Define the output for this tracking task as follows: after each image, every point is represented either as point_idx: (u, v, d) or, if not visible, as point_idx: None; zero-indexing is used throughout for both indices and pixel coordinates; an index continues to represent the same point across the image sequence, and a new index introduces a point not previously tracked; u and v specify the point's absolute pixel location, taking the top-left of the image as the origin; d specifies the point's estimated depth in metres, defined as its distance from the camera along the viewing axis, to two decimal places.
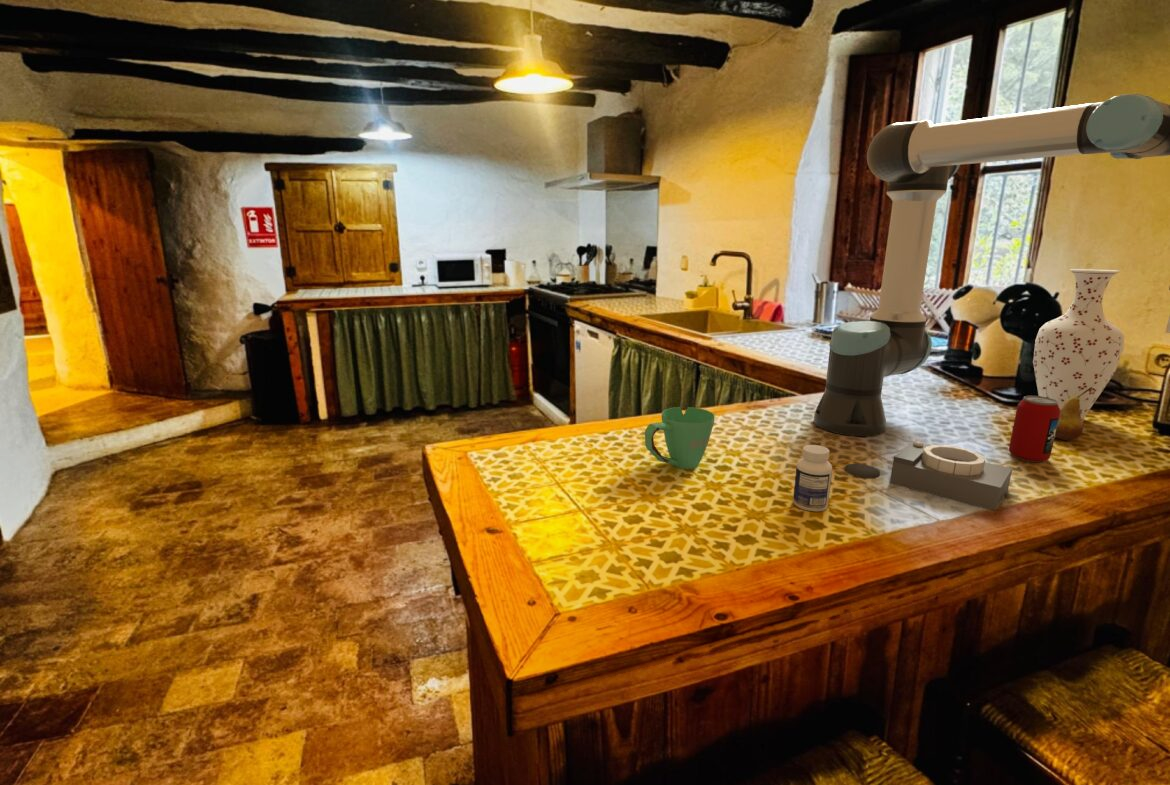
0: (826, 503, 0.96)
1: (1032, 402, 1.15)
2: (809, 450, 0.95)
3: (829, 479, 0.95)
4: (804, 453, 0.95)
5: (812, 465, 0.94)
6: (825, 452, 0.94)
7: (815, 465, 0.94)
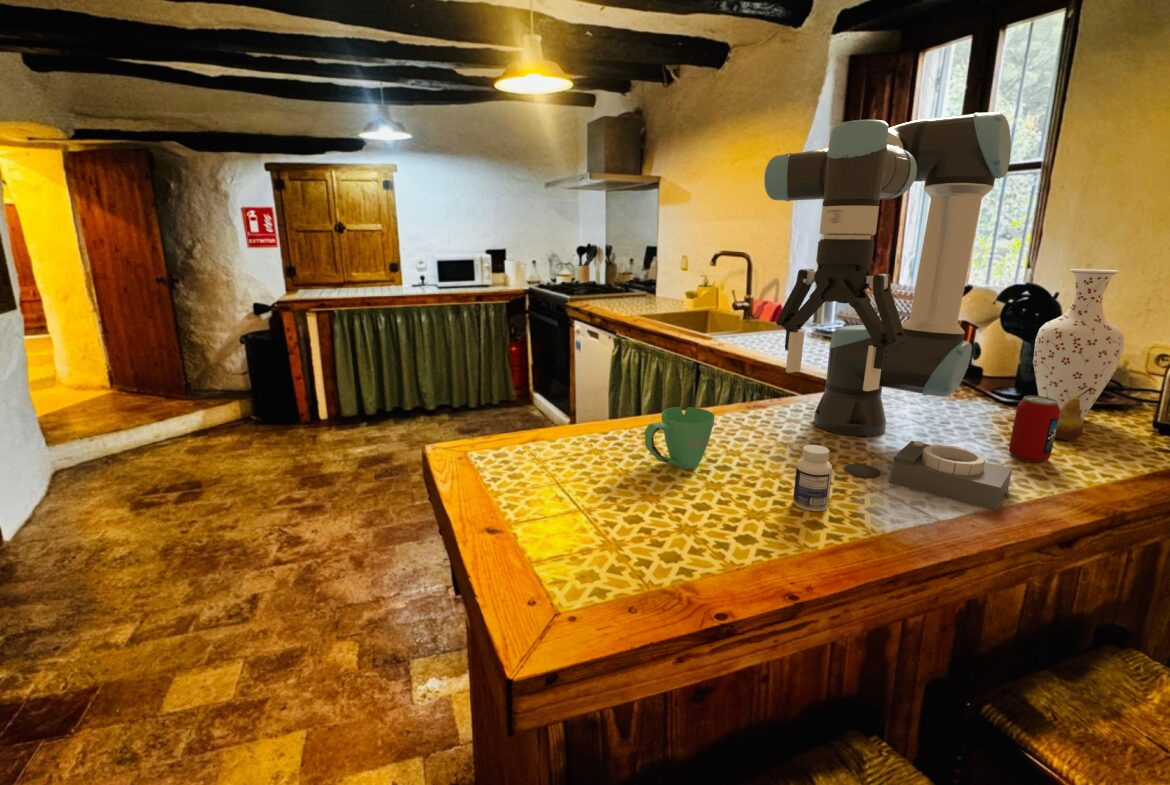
0: (826, 503, 0.96)
1: (1032, 402, 1.15)
2: (809, 450, 0.95)
3: (829, 479, 0.95)
4: (804, 453, 0.95)
5: (812, 465, 0.94)
6: (825, 452, 0.94)
7: (815, 465, 0.94)
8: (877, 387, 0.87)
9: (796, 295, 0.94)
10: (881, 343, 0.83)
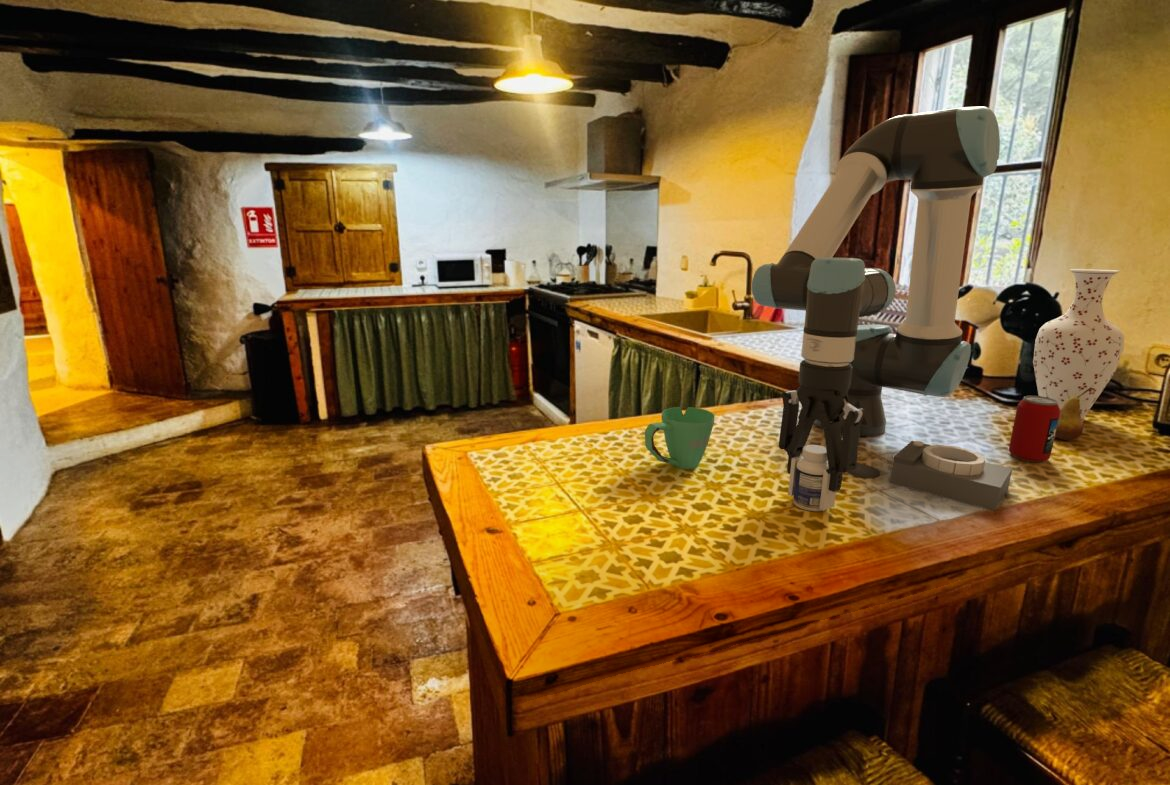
0: None
1: (1032, 402, 1.15)
2: (809, 450, 0.95)
3: None
4: (804, 453, 0.95)
5: (812, 465, 0.94)
6: (825, 452, 0.94)
7: (815, 465, 0.94)
8: (833, 505, 0.95)
9: (787, 416, 0.98)
10: (833, 472, 0.91)
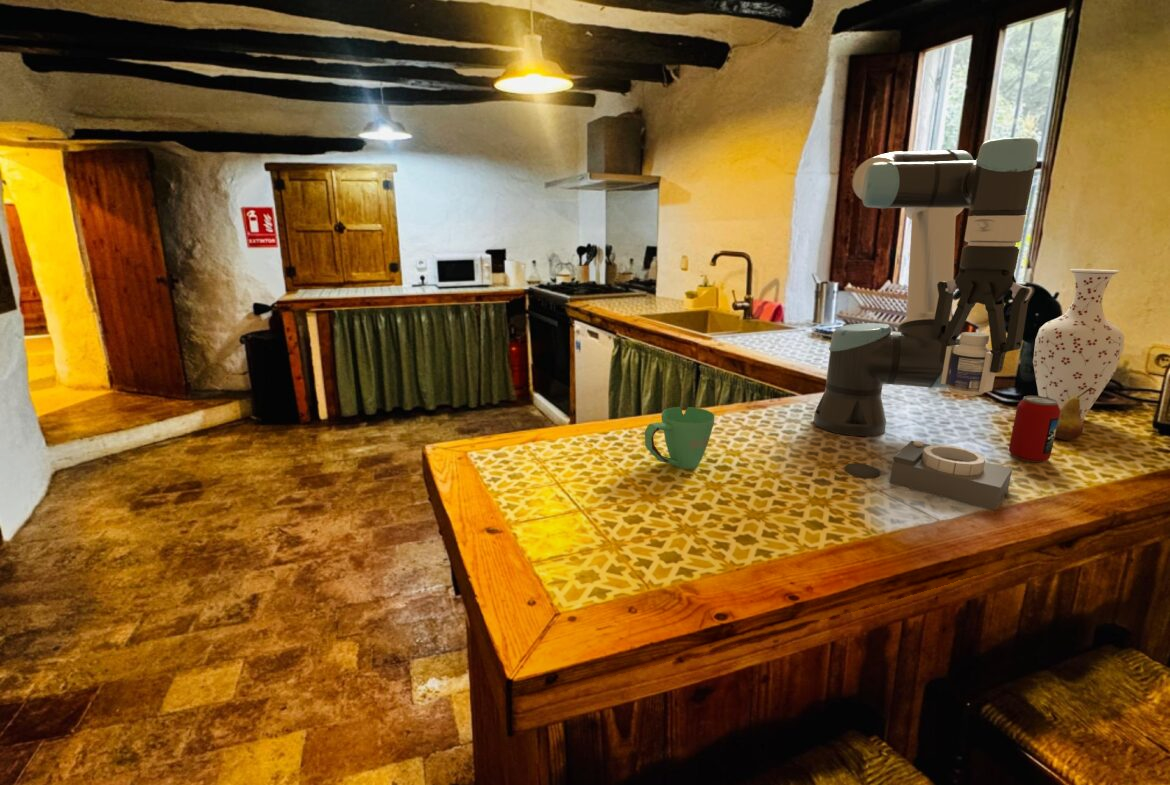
0: None
1: (1032, 402, 1.15)
2: (969, 334, 0.98)
3: None
4: (963, 338, 0.98)
5: (973, 348, 0.97)
6: (986, 335, 0.97)
7: (976, 348, 0.97)
8: (991, 389, 0.98)
9: (943, 305, 1.01)
10: (998, 351, 0.94)
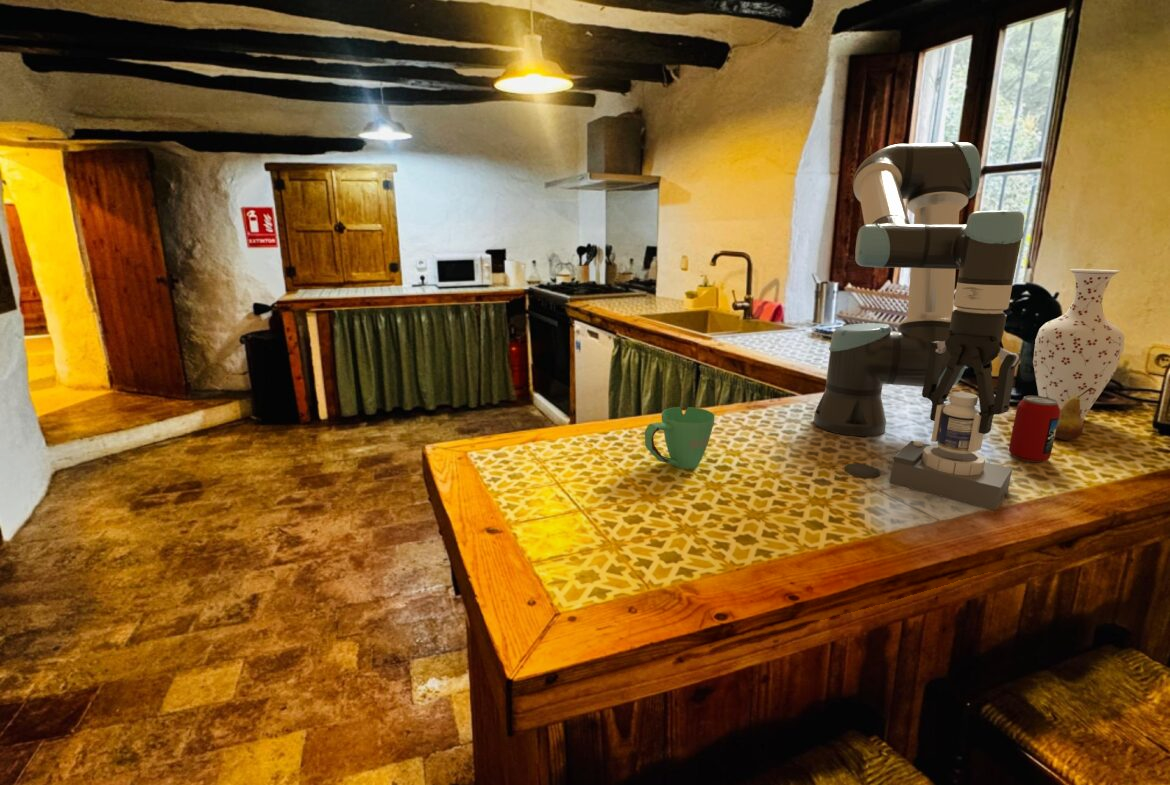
0: None
1: (1032, 402, 1.15)
2: (958, 395, 1.01)
3: None
4: (953, 398, 1.01)
5: (962, 409, 1.00)
6: (974, 397, 1.00)
7: (965, 409, 1.00)
8: (980, 448, 1.01)
9: (934, 365, 1.03)
10: (986, 414, 0.97)
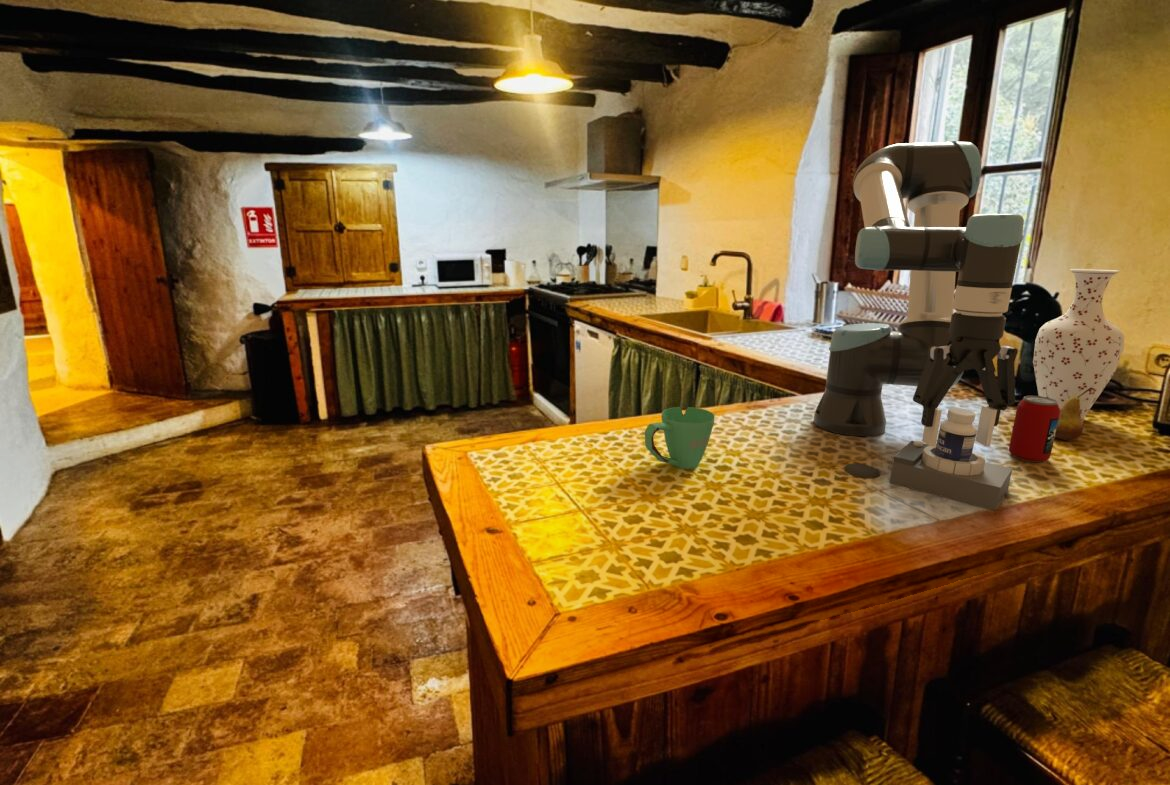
0: None
1: (1032, 402, 1.15)
2: (965, 414, 1.00)
3: None
4: (964, 418, 1.00)
5: (971, 426, 1.00)
6: (971, 411, 1.02)
7: (972, 426, 1.01)
8: None
9: (938, 372, 0.99)
10: None
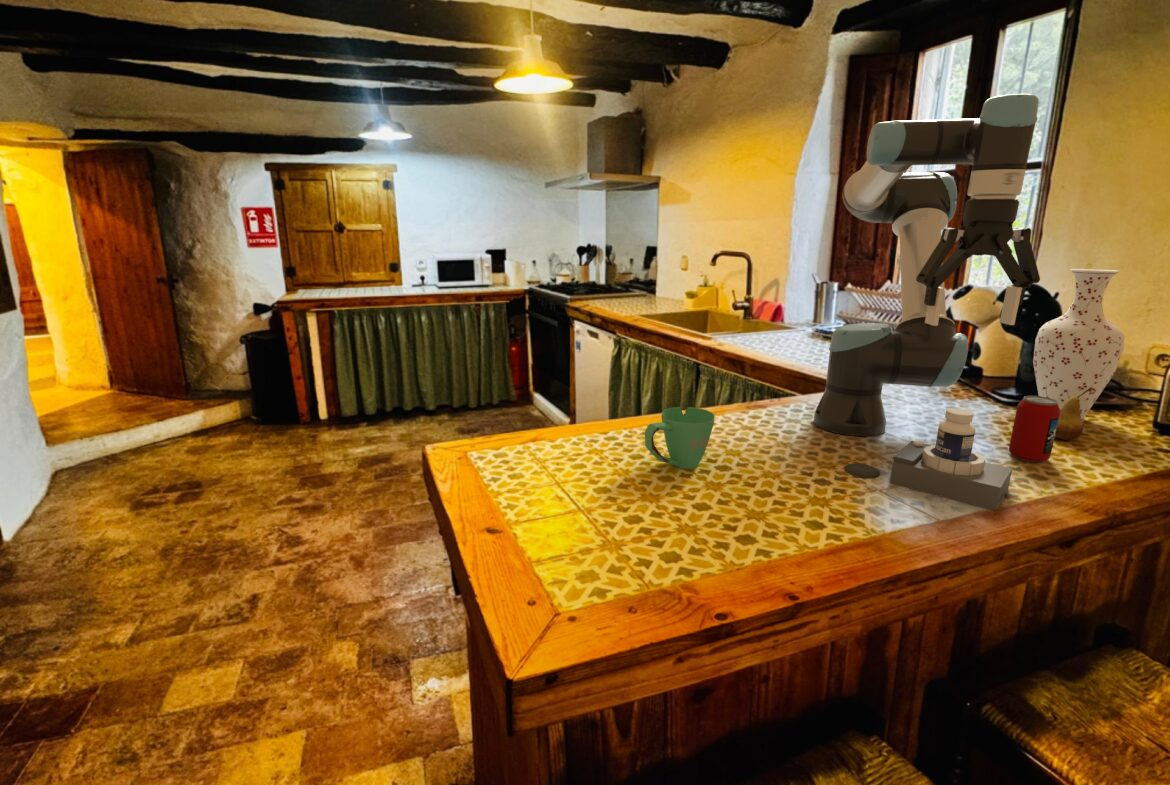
0: None
1: (1032, 402, 1.15)
2: (963, 413, 1.01)
3: None
4: (962, 418, 1.00)
5: (969, 426, 1.01)
6: (969, 411, 1.02)
7: (970, 425, 1.01)
8: None
9: (948, 253, 1.01)
10: None
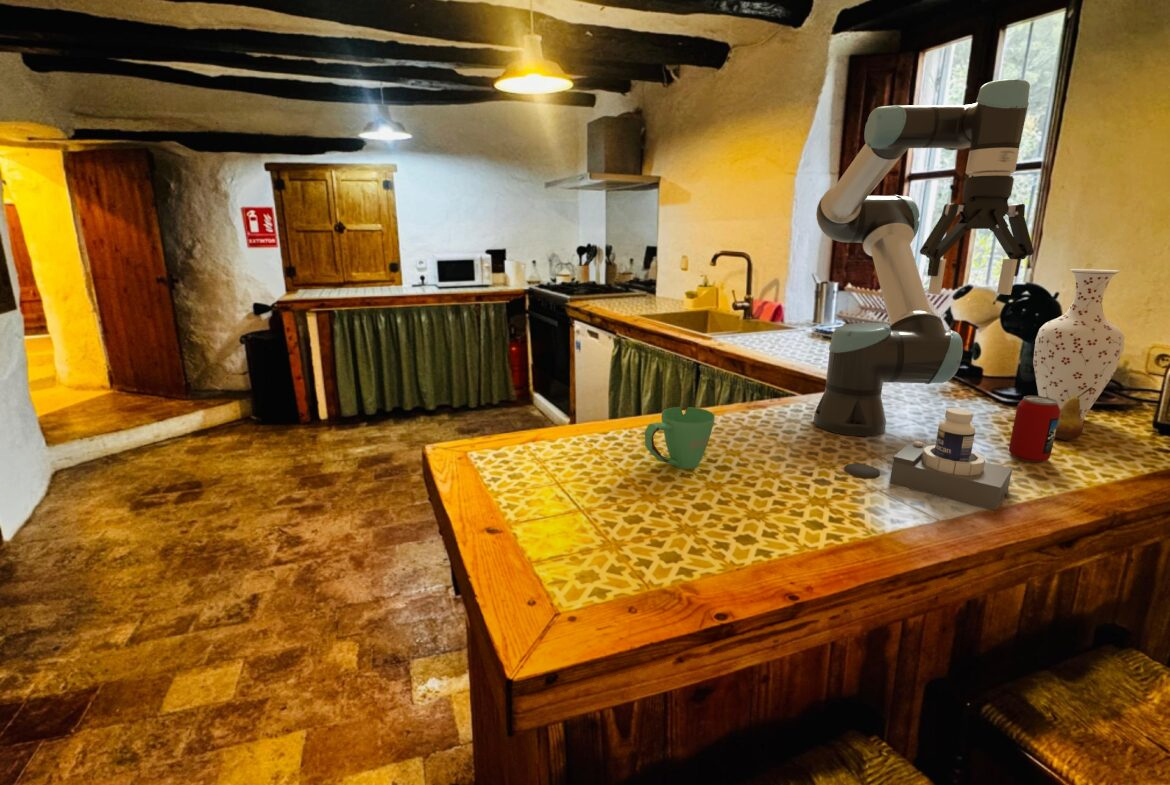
0: None
1: (1032, 402, 1.15)
2: (963, 413, 1.01)
3: None
4: (962, 417, 1.00)
5: (969, 426, 1.01)
6: (969, 411, 1.02)
7: (970, 425, 1.01)
8: None
9: (949, 226, 1.09)
10: None
